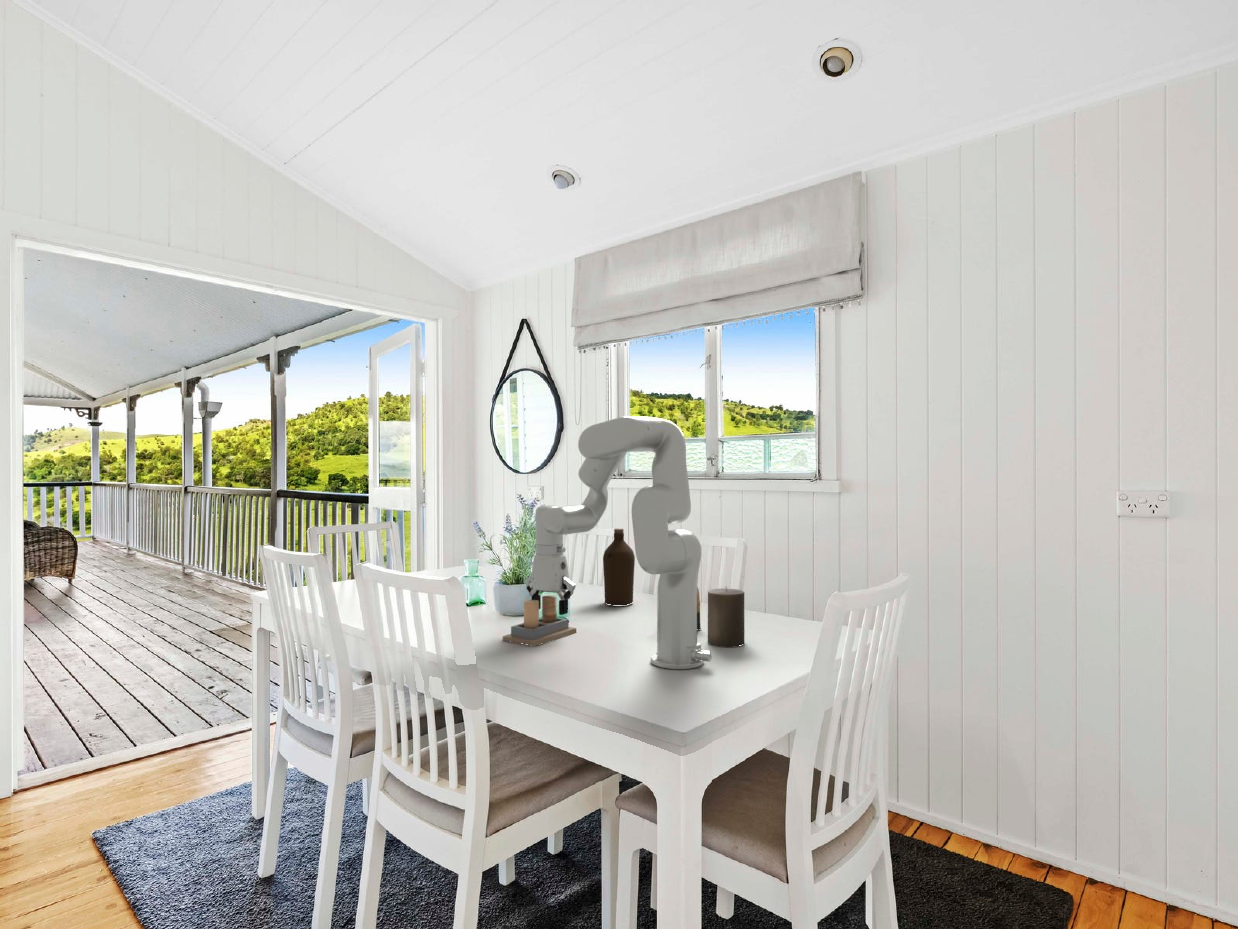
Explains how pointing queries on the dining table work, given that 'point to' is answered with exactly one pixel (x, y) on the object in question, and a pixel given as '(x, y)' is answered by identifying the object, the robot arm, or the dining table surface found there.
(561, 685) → the dining table surface
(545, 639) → the housing
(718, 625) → the pillar candle
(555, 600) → the switch lever
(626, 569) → the olive oil
